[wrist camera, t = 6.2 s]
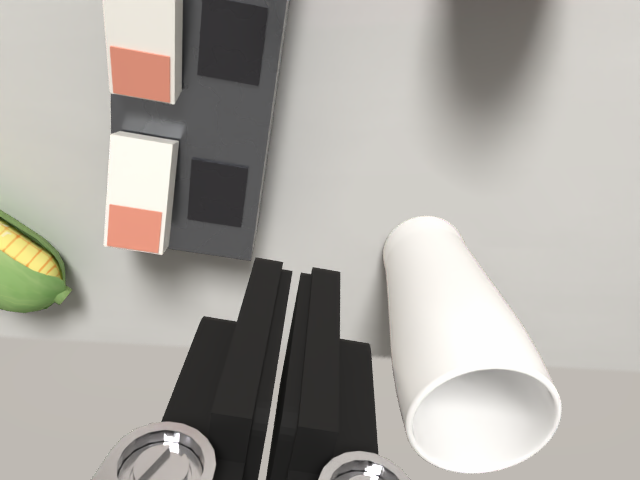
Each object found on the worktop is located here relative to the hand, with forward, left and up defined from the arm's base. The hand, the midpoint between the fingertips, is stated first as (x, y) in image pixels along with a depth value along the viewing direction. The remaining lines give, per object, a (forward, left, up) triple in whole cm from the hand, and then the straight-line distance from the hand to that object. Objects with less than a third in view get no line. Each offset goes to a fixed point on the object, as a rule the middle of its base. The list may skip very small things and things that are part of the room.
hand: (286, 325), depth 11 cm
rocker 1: (+7, -2, -17) cm, 19 cm away
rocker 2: (+7, +6, -17) cm, 19 cm away
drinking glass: (-10, +9, -23) cm, 26 cm away
